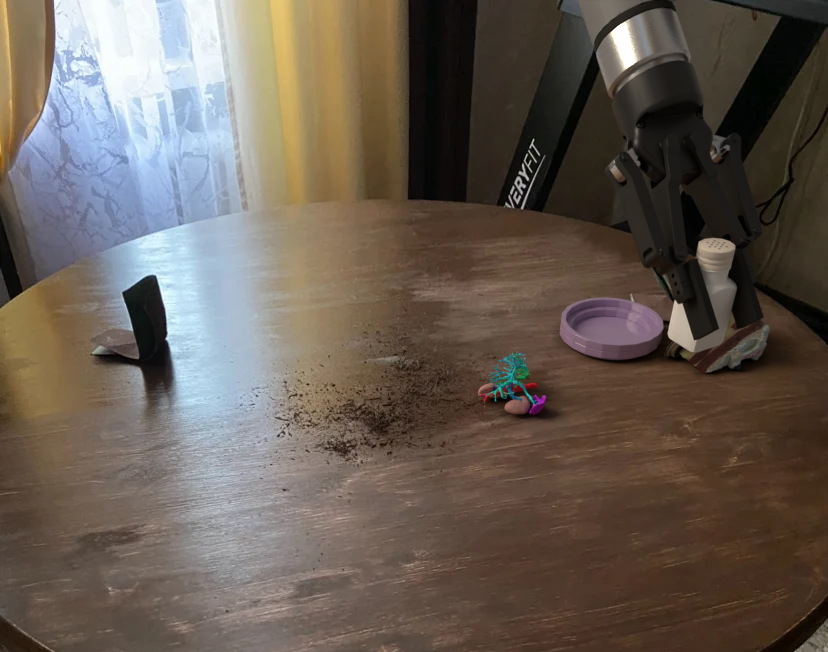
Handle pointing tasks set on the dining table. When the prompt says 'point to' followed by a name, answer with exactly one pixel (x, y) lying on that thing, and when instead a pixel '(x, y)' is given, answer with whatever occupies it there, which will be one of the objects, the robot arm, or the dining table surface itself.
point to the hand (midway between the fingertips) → (728, 328)
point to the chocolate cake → (727, 347)
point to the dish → (611, 328)
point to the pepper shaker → (721, 291)
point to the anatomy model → (513, 388)
